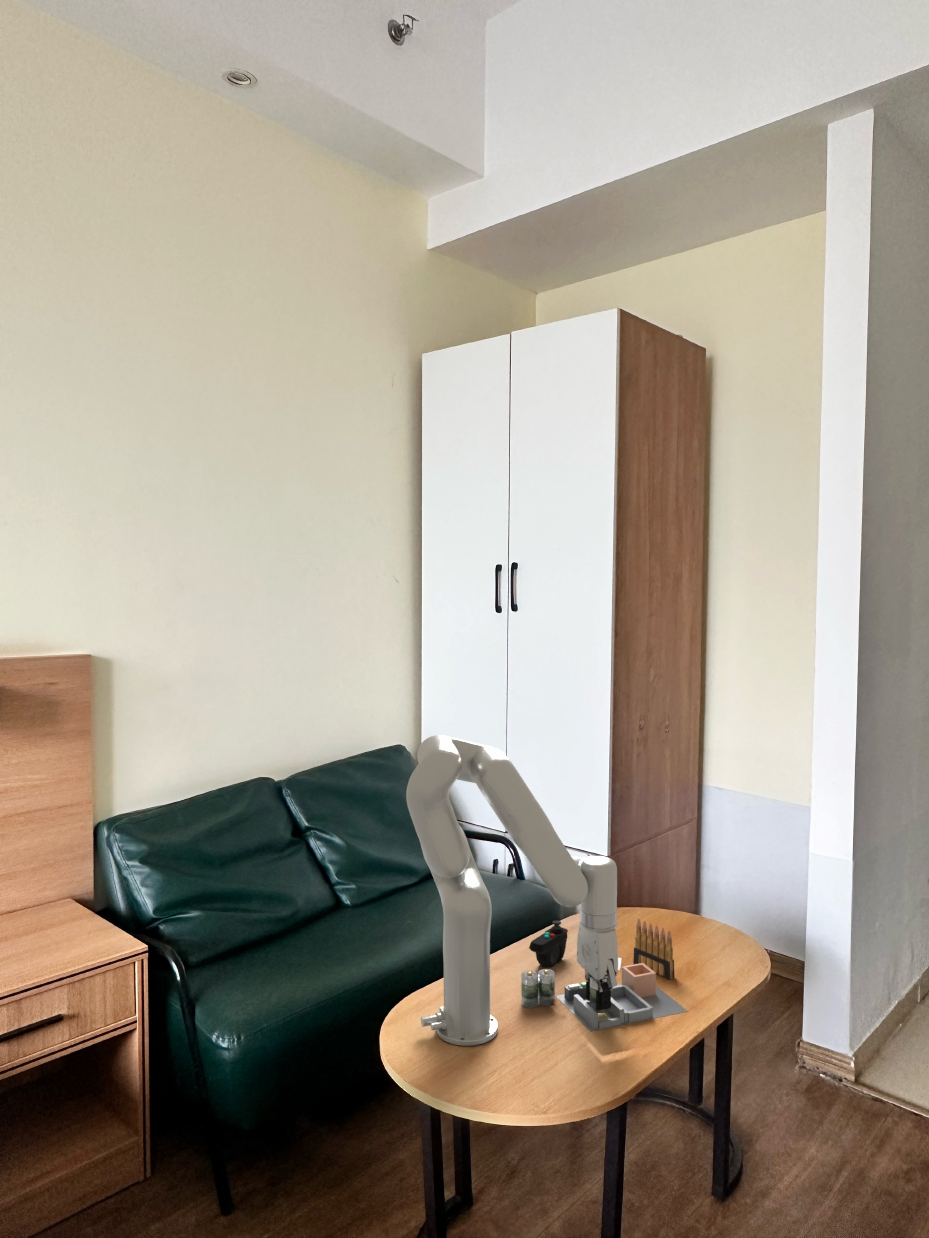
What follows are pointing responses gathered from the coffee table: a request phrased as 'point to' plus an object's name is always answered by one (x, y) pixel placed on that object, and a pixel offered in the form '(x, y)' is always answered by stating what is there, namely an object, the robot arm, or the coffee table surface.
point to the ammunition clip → (654, 950)
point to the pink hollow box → (639, 979)
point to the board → (618, 1006)
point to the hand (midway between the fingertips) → (598, 1002)
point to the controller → (550, 945)
